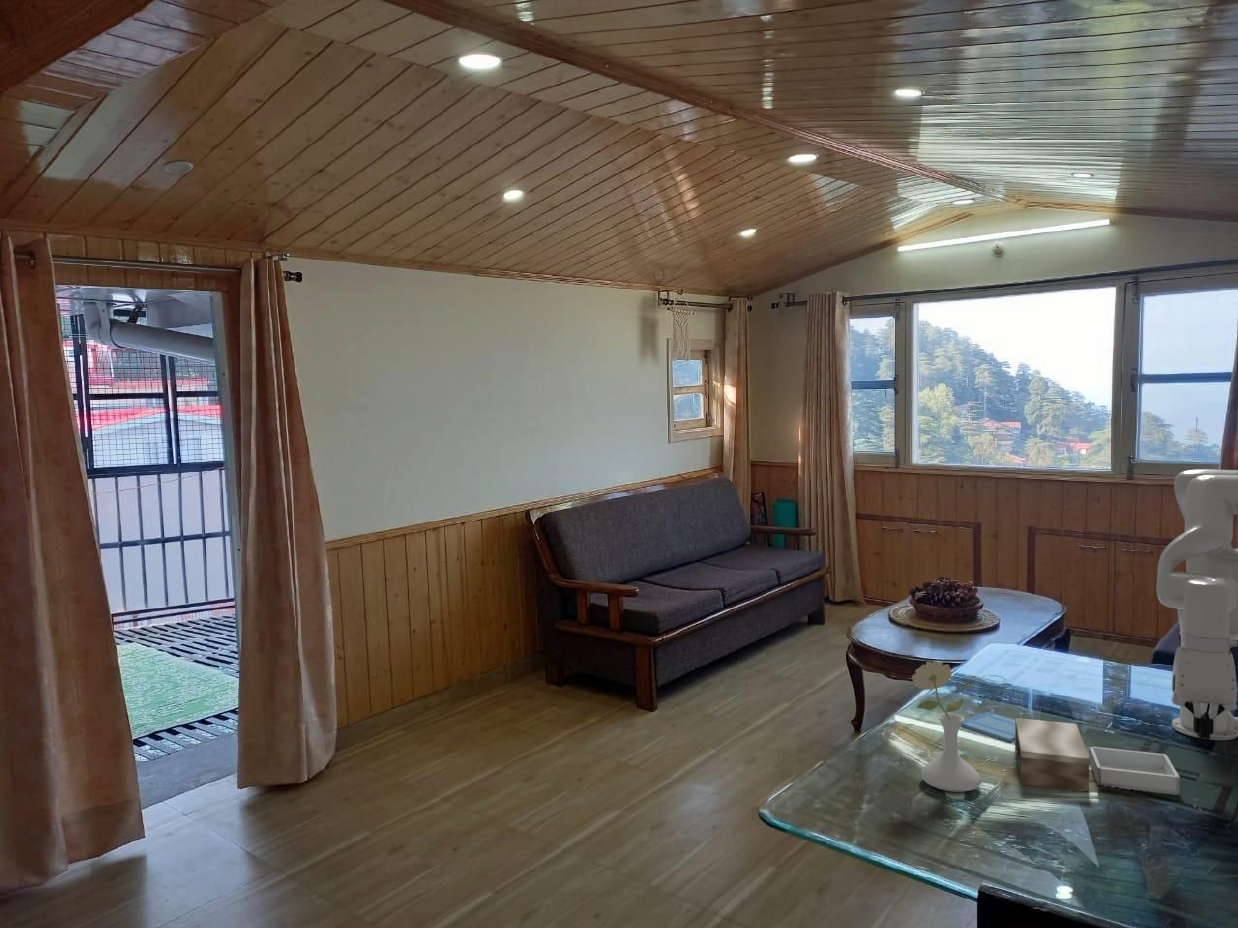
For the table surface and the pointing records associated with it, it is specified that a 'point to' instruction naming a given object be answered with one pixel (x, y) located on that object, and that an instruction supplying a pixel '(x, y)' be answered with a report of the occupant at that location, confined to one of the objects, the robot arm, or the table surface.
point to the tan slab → (1051, 754)
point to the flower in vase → (949, 765)
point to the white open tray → (1134, 770)
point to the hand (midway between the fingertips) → (1203, 736)
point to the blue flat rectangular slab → (992, 725)
